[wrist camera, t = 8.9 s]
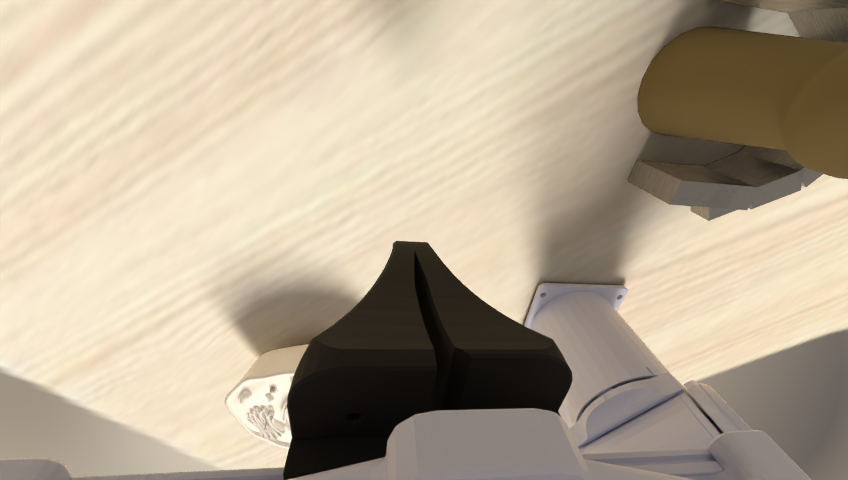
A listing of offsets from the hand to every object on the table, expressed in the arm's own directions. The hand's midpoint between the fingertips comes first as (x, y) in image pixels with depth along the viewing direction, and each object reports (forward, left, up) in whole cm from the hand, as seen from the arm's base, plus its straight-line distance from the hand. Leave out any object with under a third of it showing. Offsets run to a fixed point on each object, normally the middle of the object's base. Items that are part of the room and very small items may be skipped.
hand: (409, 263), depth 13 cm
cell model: (-18, +6, -10) cm, 22 cm away
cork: (+7, -17, -10) cm, 21 cm away
